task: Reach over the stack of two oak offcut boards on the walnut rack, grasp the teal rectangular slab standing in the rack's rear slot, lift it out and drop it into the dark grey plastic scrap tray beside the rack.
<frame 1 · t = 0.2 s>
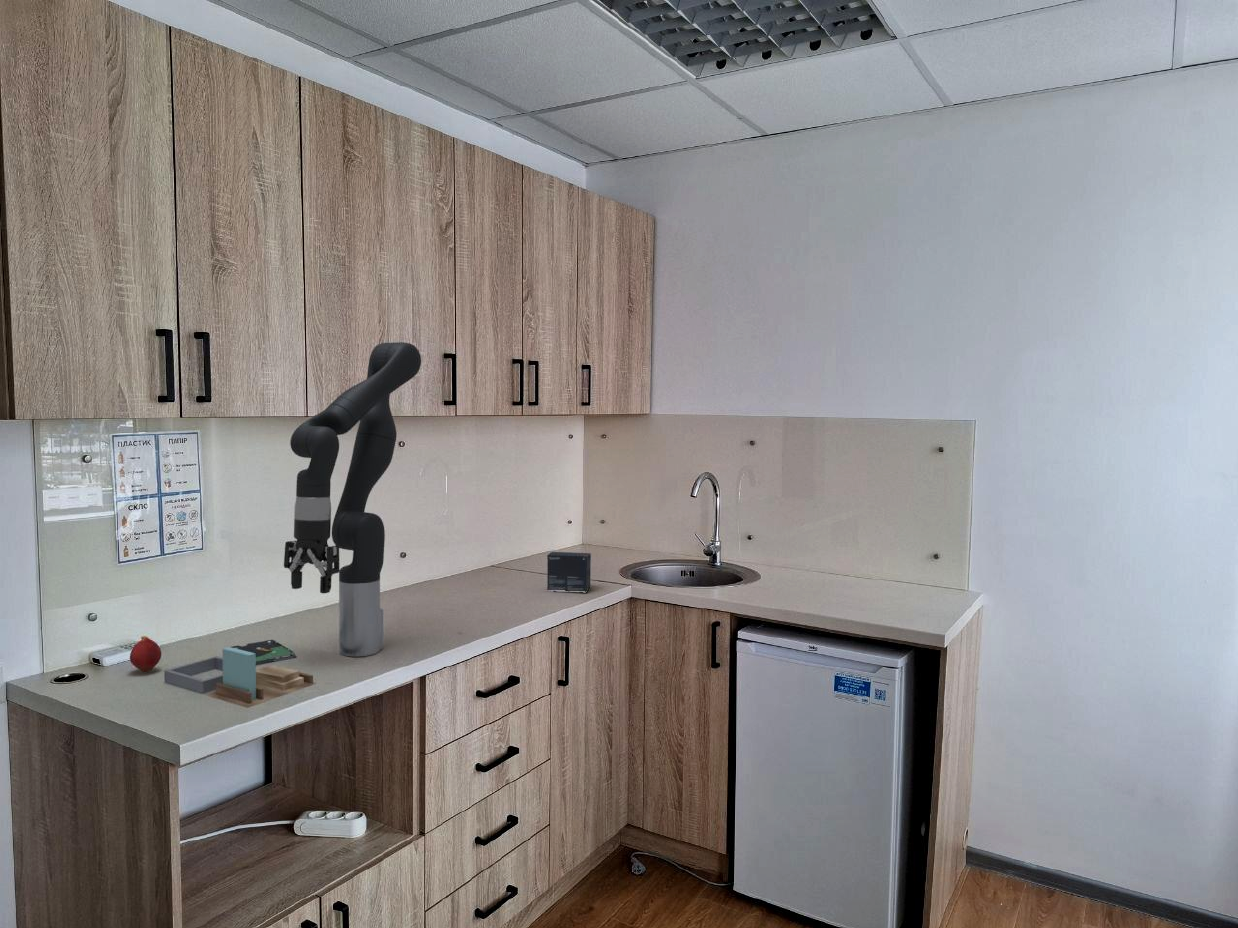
hand: (310, 590, 181), 17 cm above the table, tool pointing down, fingers open, 8 cm apart
small box: (568, 591, 263), on the table
onion: (146, 672, 177), on the table
tray: (210, 685, 170), on the table
rack: (261, 694, 165), on the table
disk drive: (262, 662, 187), on the table
offcut lower: (278, 683, 168), point 1 cm above the table, touching offcut upper, rack
teal rectangular slab: (239, 696, 160), point 1 cm above the table, touching rack
offcut upper: (276, 676, 168), point 2 cm above the table, touching offcut lower
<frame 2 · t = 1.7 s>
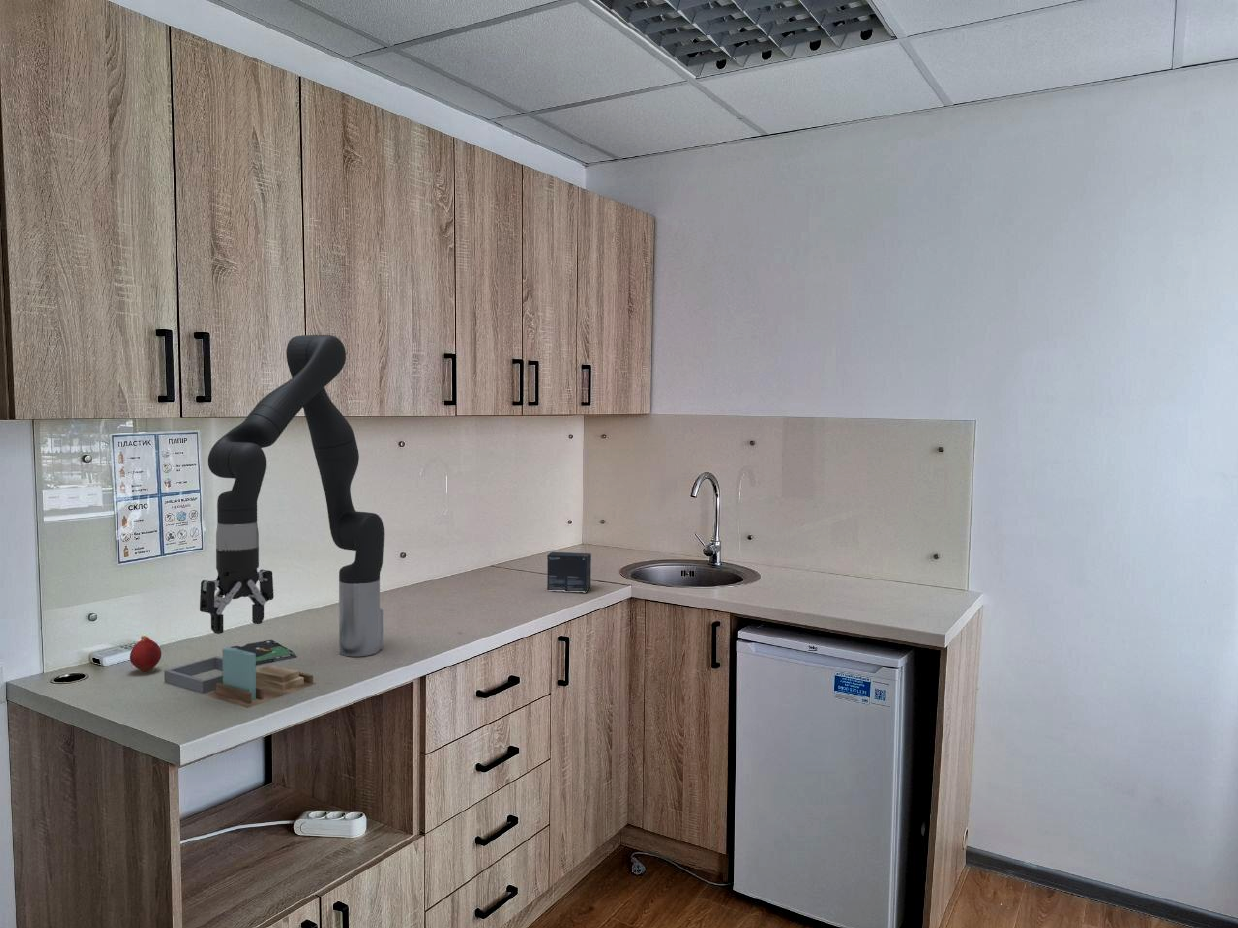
hand: (238, 628, 159), 15 cm above the table, tool pointing down, fingers open, 8 cm apart
nothing on the table moved.
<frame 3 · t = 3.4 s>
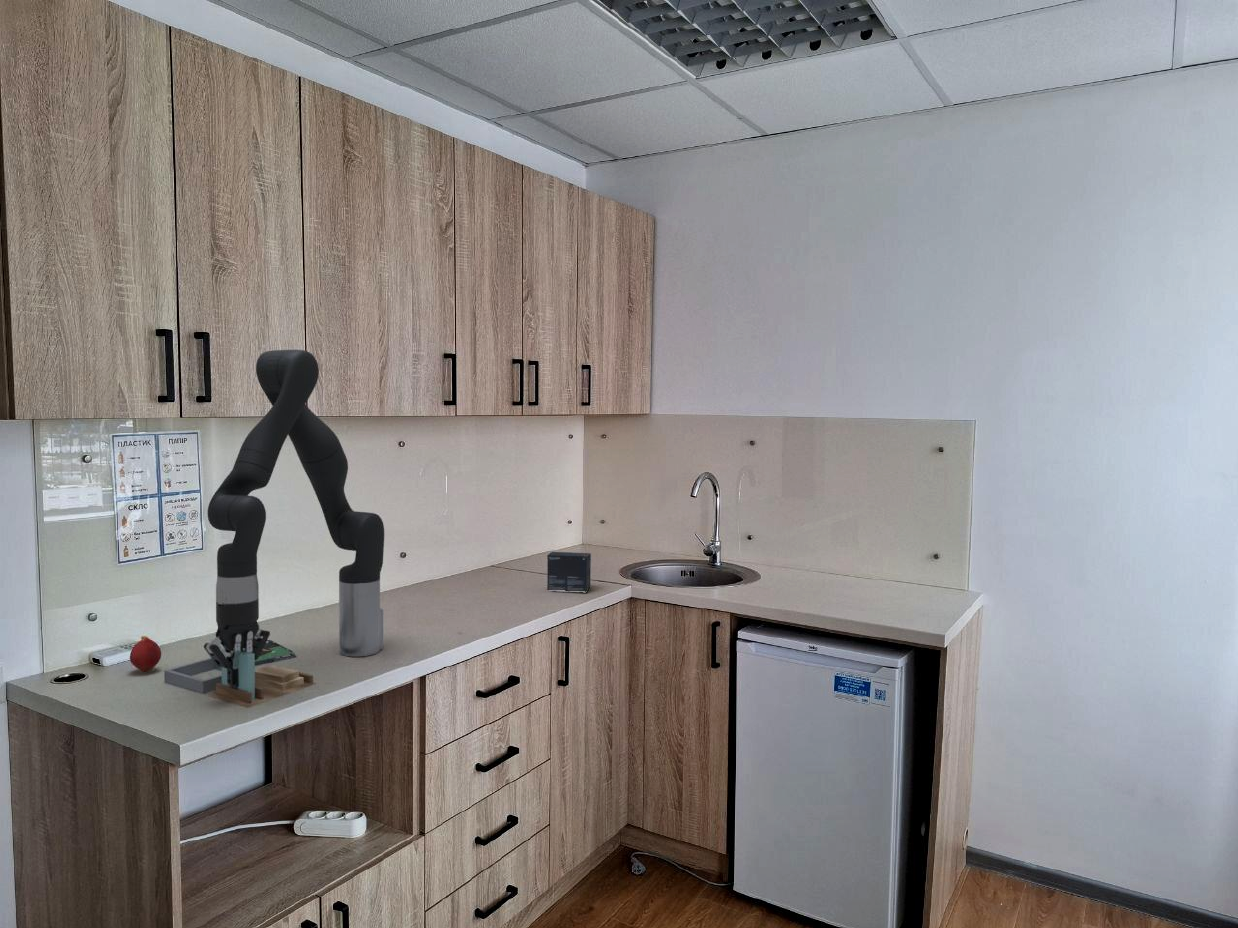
hand: (238, 685, 160), 3 cm above the table, tool pointing down, fingers closed on teal rectangular slab, 1 cm apart
teal rectangular slab: (238, 696, 160), point 1 cm above the table, touching gripper
everything else where it was.
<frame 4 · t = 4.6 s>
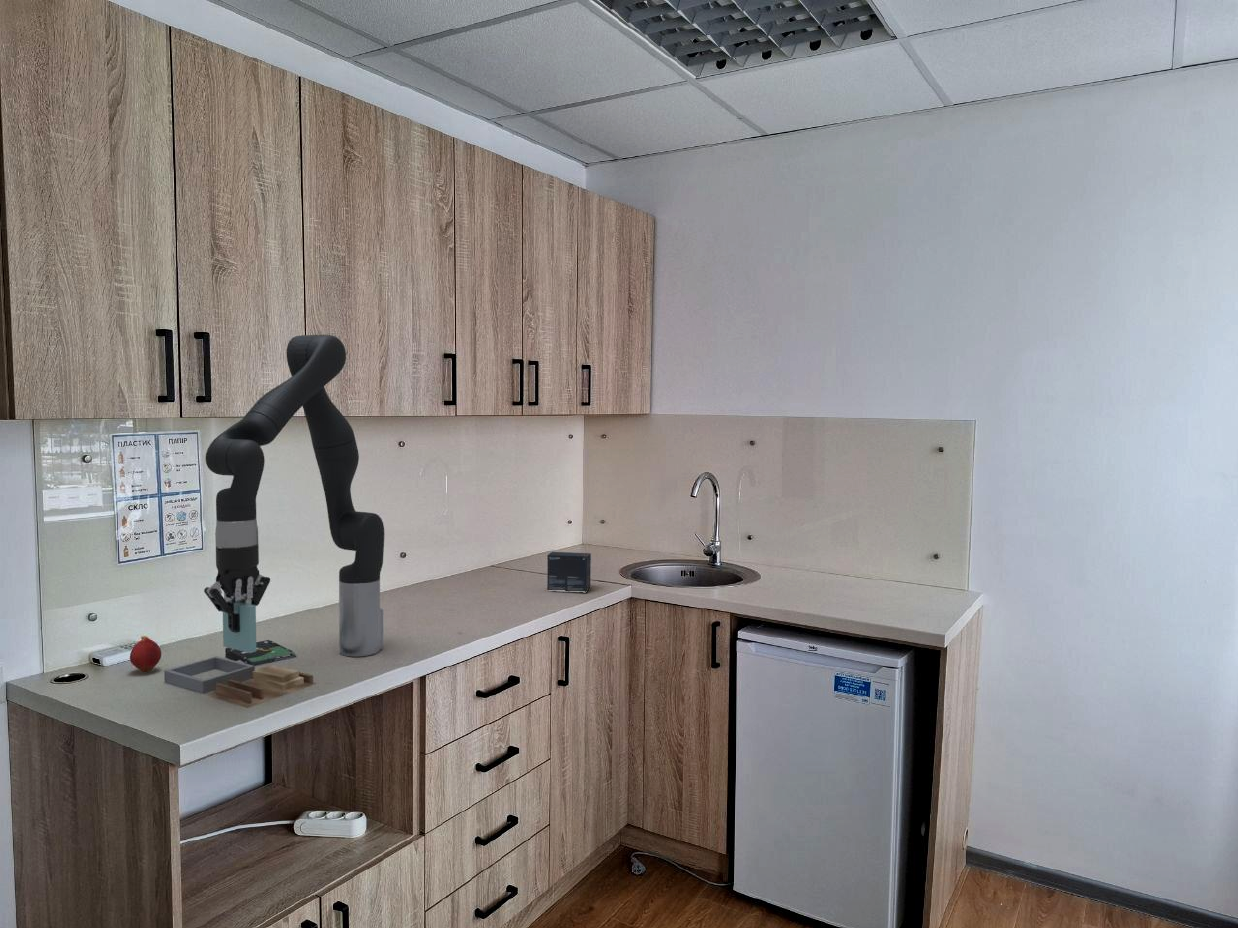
hand: (239, 630, 160), 14 cm above the table, tool pointing down, fingers closed on teal rectangular slab, 1 cm apart
teal rectangular slab: (239, 648, 160), point 11 cm above the table, touching gripper
everything else where it was.
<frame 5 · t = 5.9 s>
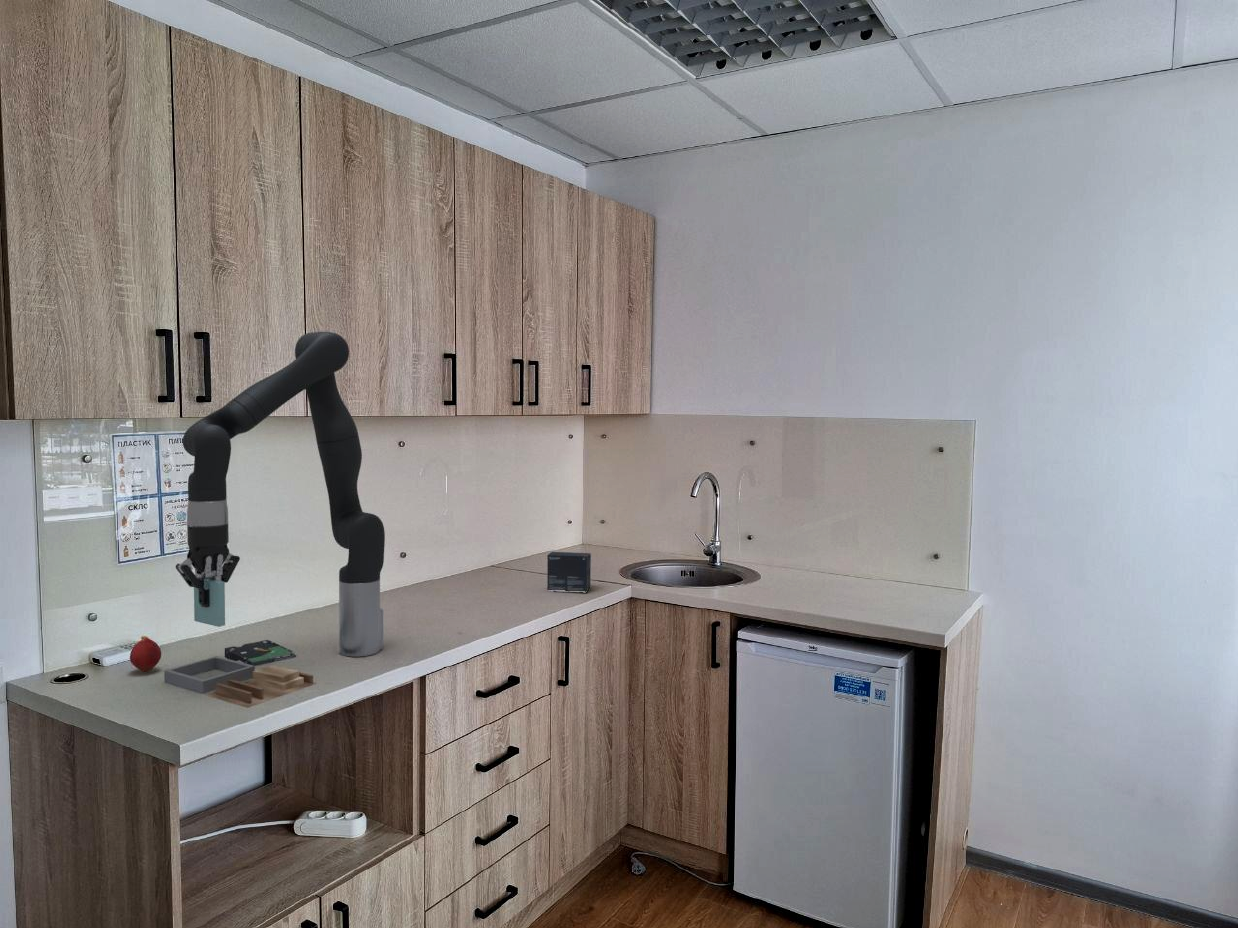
hand: (209, 605, 168), 17 cm above the table, tool pointing down, fingers closed on teal rectangular slab, 1 cm apart
teal rectangular slab: (209, 623, 169), point 13 cm above the table, touching gripper
everything else where it was.
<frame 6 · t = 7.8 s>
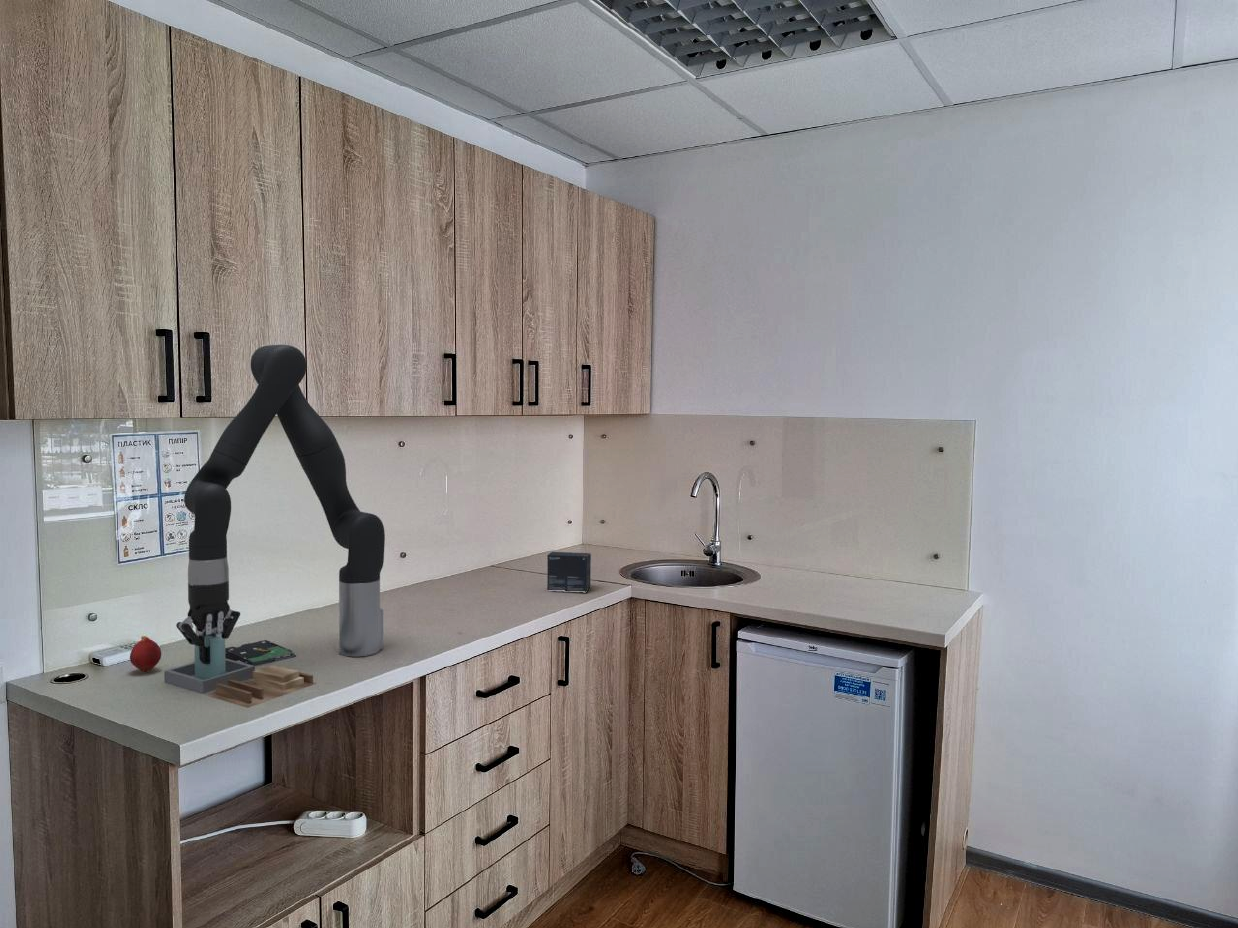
hand: (209, 662, 169), 5 cm above the table, tool pointing down, fingers closed on teal rectangular slab, 1 cm apart
teal rectangular slab: (210, 679, 170), point 1 cm above the table, touching gripper
everything else where it was.
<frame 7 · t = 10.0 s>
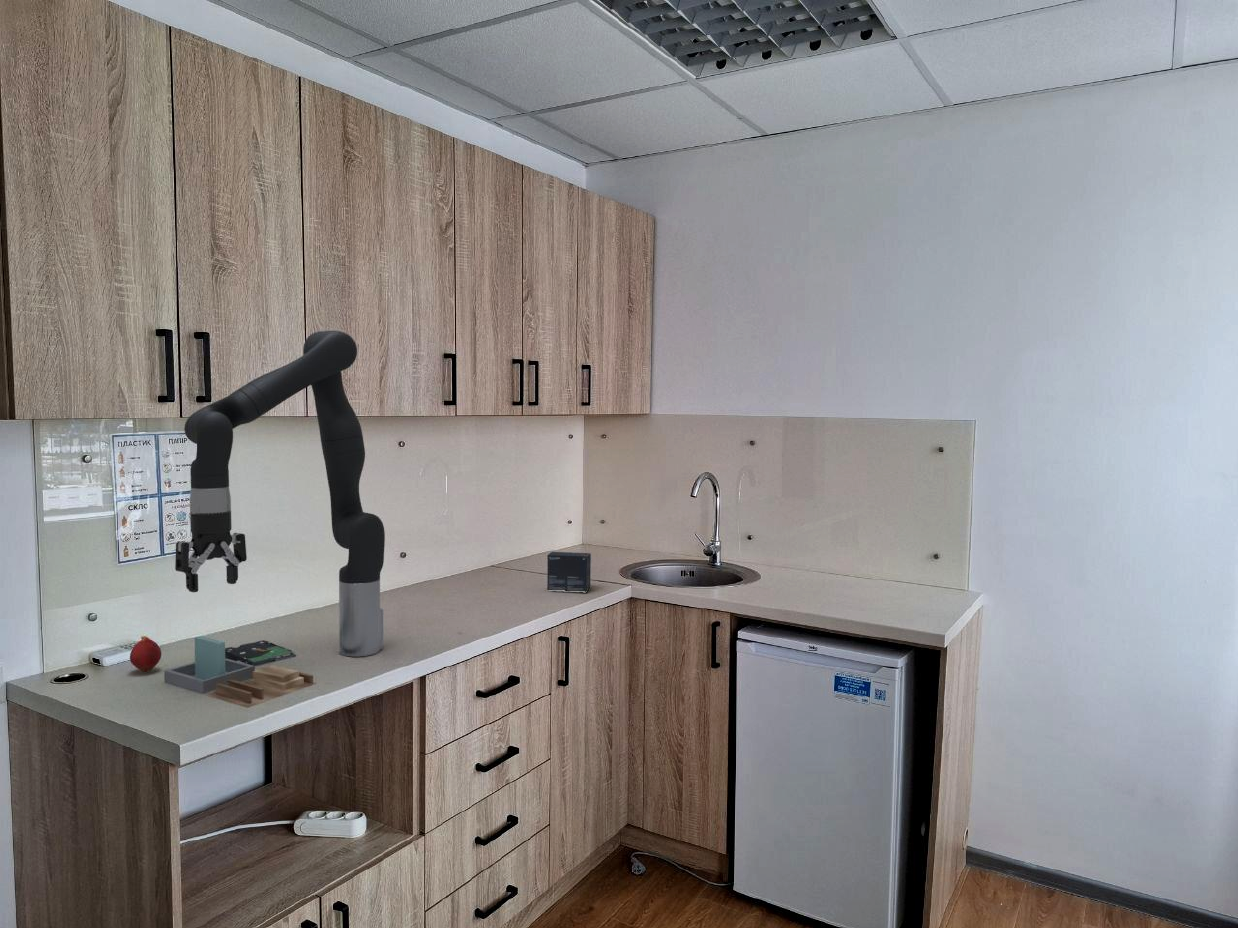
hand: (212, 587, 169), 20 cm above the table, tool pointing down, fingers open, 8 cm apart
teal rectangular slab: (210, 682, 170), point 1 cm above the table, touching tray
everything else where it was.
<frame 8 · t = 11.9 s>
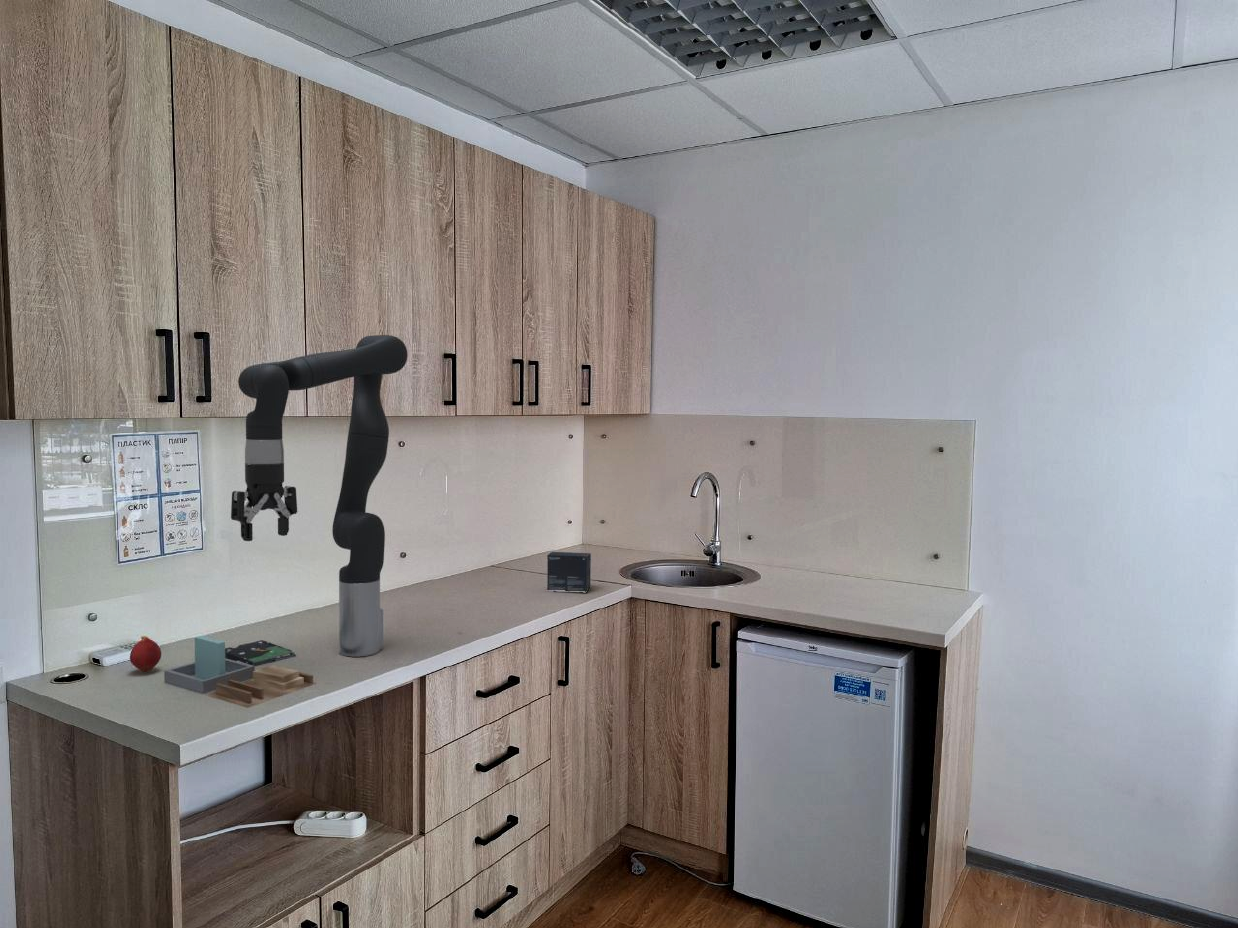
hand: (265, 538, 172), 30 cm above the table, tool pointing down, fingers open, 8 cm apart
nothing on the table moved.
at the end: teal rectangular slab inside the target area on the tray (0.0 cm from its centre), point 0.6 cm above the tray's base; the gripper is holding nothing; offcut upper moved 0.1 cm from its start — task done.
